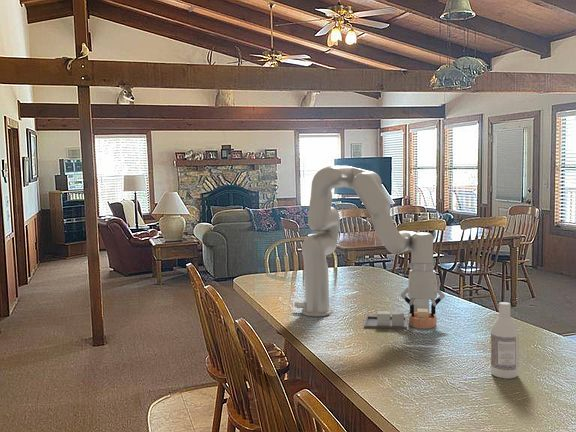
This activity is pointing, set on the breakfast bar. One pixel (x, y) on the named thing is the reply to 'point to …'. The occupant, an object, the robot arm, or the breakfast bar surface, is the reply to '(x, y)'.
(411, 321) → the bowl
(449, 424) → the breakfast bar surface
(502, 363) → the bath foam
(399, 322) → the grey cube
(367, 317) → the tray
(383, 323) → the grey cube
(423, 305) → the supplement box
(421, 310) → the beige rectangular block
